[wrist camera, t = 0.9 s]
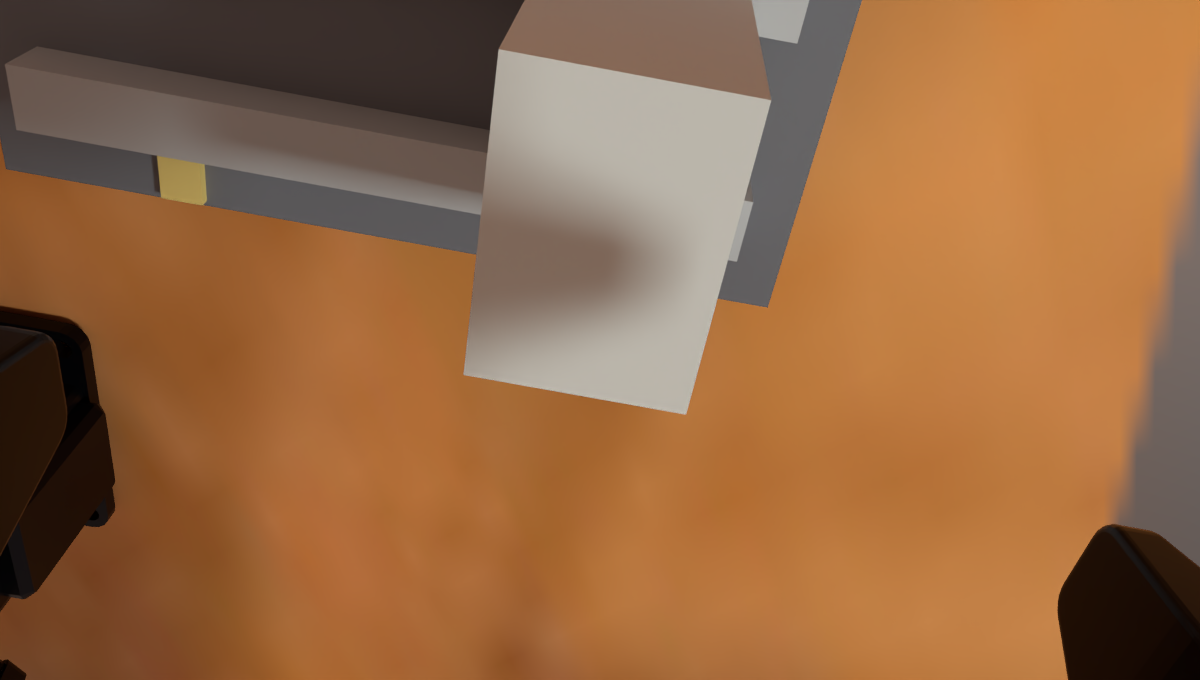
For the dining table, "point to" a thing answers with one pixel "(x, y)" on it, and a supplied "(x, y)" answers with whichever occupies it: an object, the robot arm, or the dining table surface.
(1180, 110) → the dining table surface
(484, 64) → the fader console
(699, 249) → the fader tab
